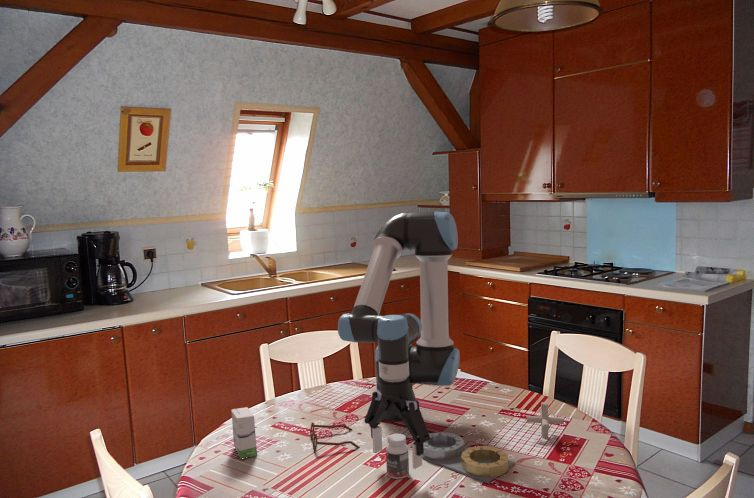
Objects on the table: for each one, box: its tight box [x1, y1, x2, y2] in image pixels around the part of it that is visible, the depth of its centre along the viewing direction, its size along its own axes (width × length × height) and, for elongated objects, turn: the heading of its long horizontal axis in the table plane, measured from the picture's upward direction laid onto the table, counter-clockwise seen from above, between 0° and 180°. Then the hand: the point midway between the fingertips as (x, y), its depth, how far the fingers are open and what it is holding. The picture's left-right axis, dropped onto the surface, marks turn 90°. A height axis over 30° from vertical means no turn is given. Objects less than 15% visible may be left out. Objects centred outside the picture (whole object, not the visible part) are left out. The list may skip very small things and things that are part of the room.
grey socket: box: [422, 431, 465, 461], centre depth 162 cm, size 12×12×2 cm
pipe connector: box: [526, 401, 564, 439], centre depth 169 cm, size 10×10×10 cm
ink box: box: [231, 406, 258, 460], centre depth 167 cm, size 9×5×12 cm, turn 26°
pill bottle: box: [385, 433, 410, 480], centre depth 151 cm, size 6×6×10 cm
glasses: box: [309, 422, 361, 452], centre depth 172 cm, size 13×13×5 cm
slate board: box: [422, 444, 516, 484], centre depth 158 cm, size 24×13×1 cm, turn 46°
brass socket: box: [461, 445, 509, 477], centre depth 153 cm, size 12×12×2 cm
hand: (397, 458), depth 150 cm, fingers open, 13 cm apart
